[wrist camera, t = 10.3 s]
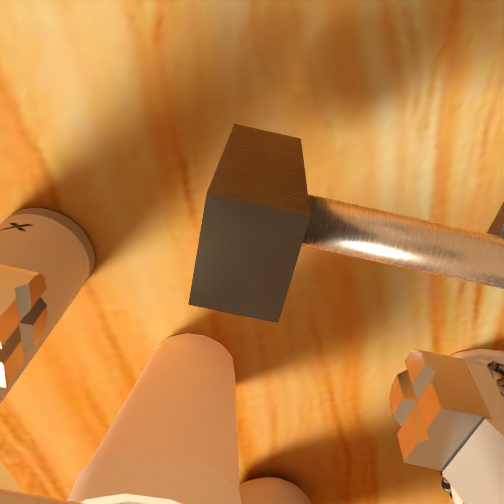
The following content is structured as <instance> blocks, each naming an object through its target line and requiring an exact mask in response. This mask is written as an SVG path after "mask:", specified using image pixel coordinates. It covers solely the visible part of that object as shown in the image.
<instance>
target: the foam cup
mask: <svg viewBox="0 0 504 504" xmlns="http://www.w3.org/2000/svg"><path fill="white" fill-rule="evenodd" d="M234 371H235V369H234V364H233V358H232V356H231V354H230V353H229V352H228V351H227V350H226V348H225V347H224V346H223V345H222V344H221V343H219V342H217V341H215V340H213V339H211V338H209V337H207V336H205V335H198V334H190V333H184V334H180V335H175V336H171V337H168V338H167V339H166V340H165V341H163V342H162V343H161V344H160V345H158V346H157V348H156V351H154V352H153V354H152V356H151V358H150V359H149V361H148V363H147V364H146V366H145V368H144V370H143V371H142V373H141V375H140V376H139V378H138V380H137V382H136V383H135V385H134V387H133V389H132V390H131V392H130V394H129V395H128V397H127V399H126V401H125V402H124V404H123V406H122V407H121V409H120V411H119V413H118V414H117V416H116V418H115V420H114V421H113V423H112V425H111V426H110V428H109V430H108V432H107V433H106V435H105V437H104V438H103V440H102V442H101V444H100V445H99V447H98V449H97V450H96V452H95V454H94V456H93V457H92V459H91V461H90V463H89V464H88V466H86V467H85V468H84V469H82V470H81V471H80V473H79V475H78V478H77V480H76V482H75V485H74V487H73V489H72V492H71V494H70V496H69V498H68V501H72V502H78V503H84V504H242V502H241V497H240V490H239V464H238V438H237V413H236V387H235V373H234Z"/></svg>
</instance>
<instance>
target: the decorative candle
mask: <svg viewBox="0 0 504 504" xmlns="http://www.w3.org/2000/svg"><path fill="white" fill-rule="evenodd" d="M450 356H452V357H456V358H465V359H470V360H476V361H481V362H482V363H484V364H485V365H486V366H487V368H488V370H489V372H490V374H491V375H492V377H493V379H494V381H495V383H496V385H497V387H498V389H499V391H500V393H501V395H502V396H503V398H504V351H501V350H491V349H481V348H479V349H473V350H468V351H462V352H457V353H454V354H452V355H450ZM442 472H443V471H440V474H441V476H442V477H443V479H442V487H443V489H444V490H445V491H447V492H450V496H451V498H452V499H453V501H454V504H464V502H463V501H462V500H461V498H460V497H459V496H458V494H457V493H456V491H455V490H454V489H453V487H452V486H451V485H450V483H449V482H448V481H447V479H446V478H445V477H444V475H443V474H442Z"/></svg>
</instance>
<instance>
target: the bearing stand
mask: <svg viewBox="0 0 504 504" xmlns="http://www.w3.org/2000/svg"><path fill="white" fill-rule="evenodd" d="M487 233H488V234H492V235H497V236H502V237H504V203H503V205H502V207H501V209H500V211H499V212H498V214H497V216H496V218H495V220H494V222H493V223H492V225H491V227H490V229H489V231H488V232H487Z"/></svg>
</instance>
